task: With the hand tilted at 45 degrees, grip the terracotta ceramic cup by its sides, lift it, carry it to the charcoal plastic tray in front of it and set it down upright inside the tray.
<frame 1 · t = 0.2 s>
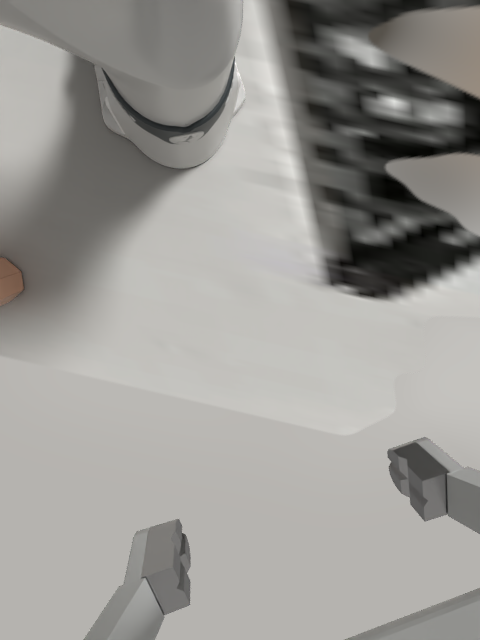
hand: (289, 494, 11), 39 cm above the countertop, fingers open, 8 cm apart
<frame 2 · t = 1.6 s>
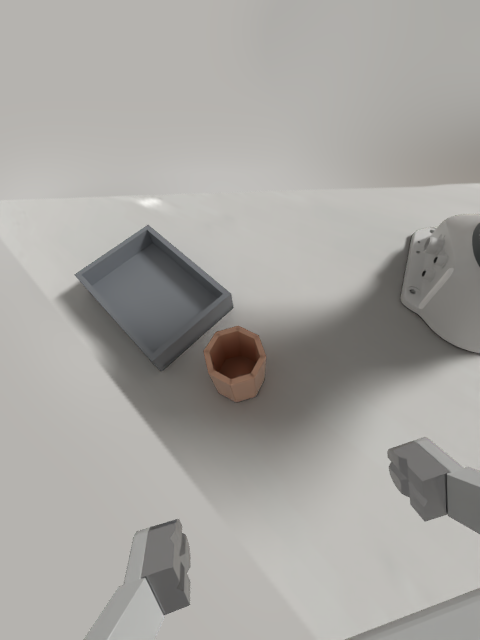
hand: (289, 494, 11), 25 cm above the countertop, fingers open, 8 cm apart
cup: (239, 376, 39), on the countertop
tray: (158, 298, 45), on the countertop
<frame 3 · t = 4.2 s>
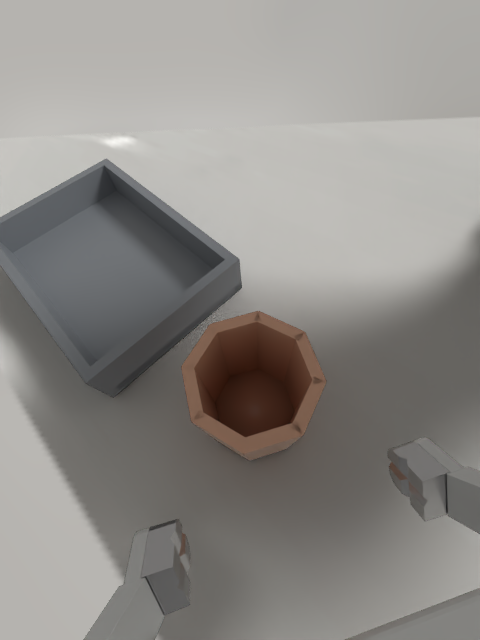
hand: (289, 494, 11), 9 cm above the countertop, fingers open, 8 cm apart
cup: (254, 408, 21), on the countertop
tray: (118, 273, 28), on the countertop
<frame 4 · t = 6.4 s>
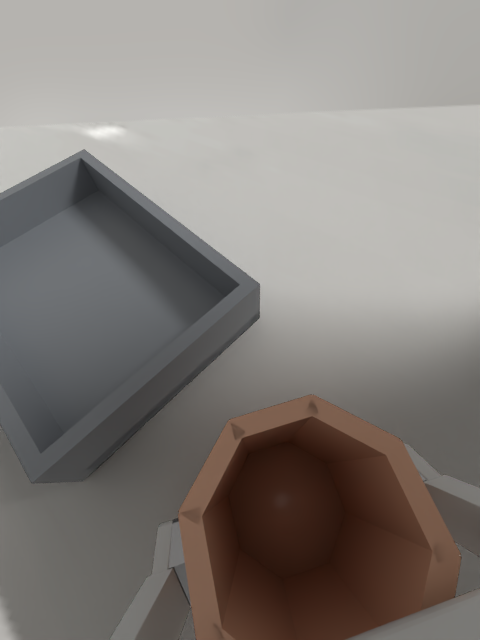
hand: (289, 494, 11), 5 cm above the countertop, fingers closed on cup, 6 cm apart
cup: (284, 502, 15), on the countertop, touching gripper
tray: (98, 296, 21), on the countertop
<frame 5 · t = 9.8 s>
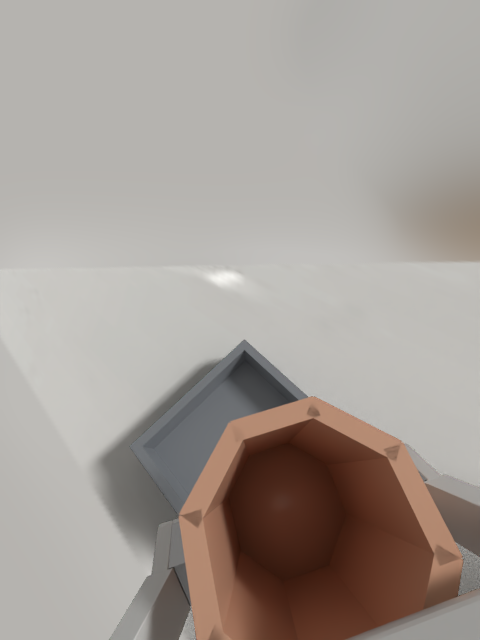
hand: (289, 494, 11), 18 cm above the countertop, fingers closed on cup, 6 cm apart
cup: (284, 503, 15), point 13 cm above the countertop, touching gripper
tray: (269, 475, 26), on the countertop
when the fingers open (7 cm above the countertop, at t = 13.0 s): cup drops 1 cm, resting on tray.
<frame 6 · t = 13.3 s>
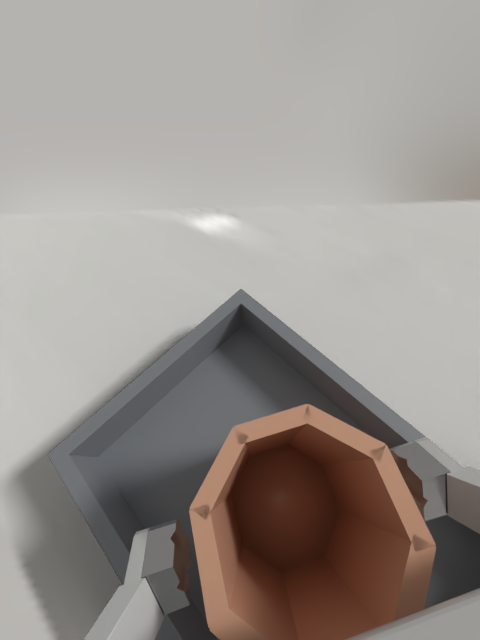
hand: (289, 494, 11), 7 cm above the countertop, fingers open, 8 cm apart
cup: (283, 501, 16), point 1 cm above the countertop, touching tray
tray: (280, 499, 16), on the countertop
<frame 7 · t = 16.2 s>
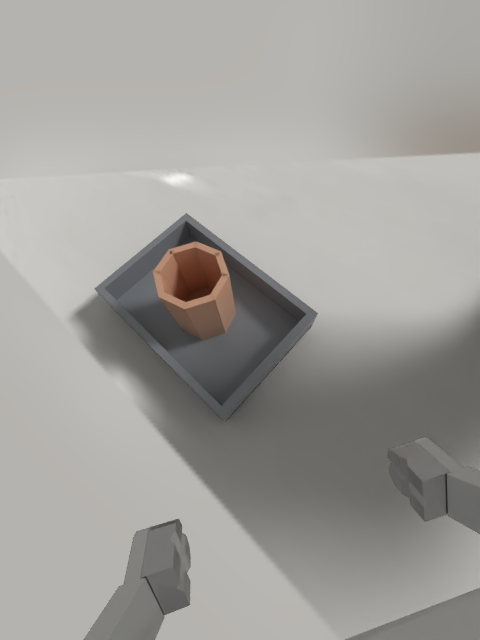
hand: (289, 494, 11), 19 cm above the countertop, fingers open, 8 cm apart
cup: (206, 311, 33), point 1 cm above the countertop, touching tray
tray: (207, 315, 34), on the countertop
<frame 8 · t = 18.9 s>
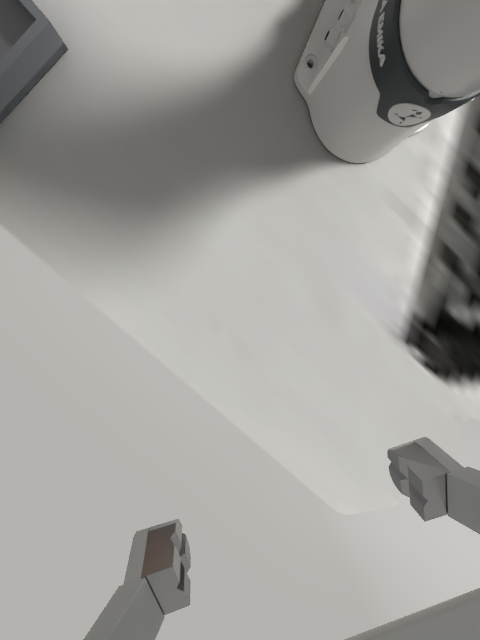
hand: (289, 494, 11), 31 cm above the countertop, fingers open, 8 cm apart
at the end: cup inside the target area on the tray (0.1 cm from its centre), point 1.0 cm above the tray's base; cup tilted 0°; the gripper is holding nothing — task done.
